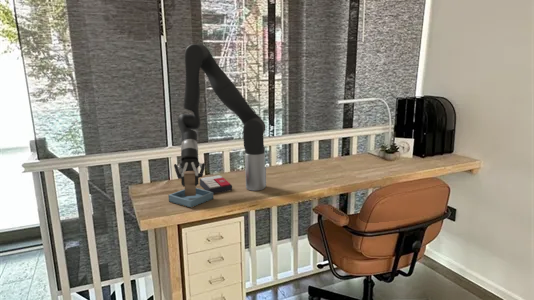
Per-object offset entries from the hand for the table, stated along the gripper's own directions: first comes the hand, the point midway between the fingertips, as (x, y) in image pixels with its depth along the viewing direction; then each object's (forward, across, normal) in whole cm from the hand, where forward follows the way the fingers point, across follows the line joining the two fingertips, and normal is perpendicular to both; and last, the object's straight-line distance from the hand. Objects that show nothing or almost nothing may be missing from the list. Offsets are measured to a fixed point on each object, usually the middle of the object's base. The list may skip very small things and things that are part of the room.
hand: (190, 185), depth 170 cm
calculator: (-6, +11, +18) cm, 22 cm away
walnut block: (+2, 0, +5) cm, 5 cm away
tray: (+4, 0, +6) cm, 8 cm away
